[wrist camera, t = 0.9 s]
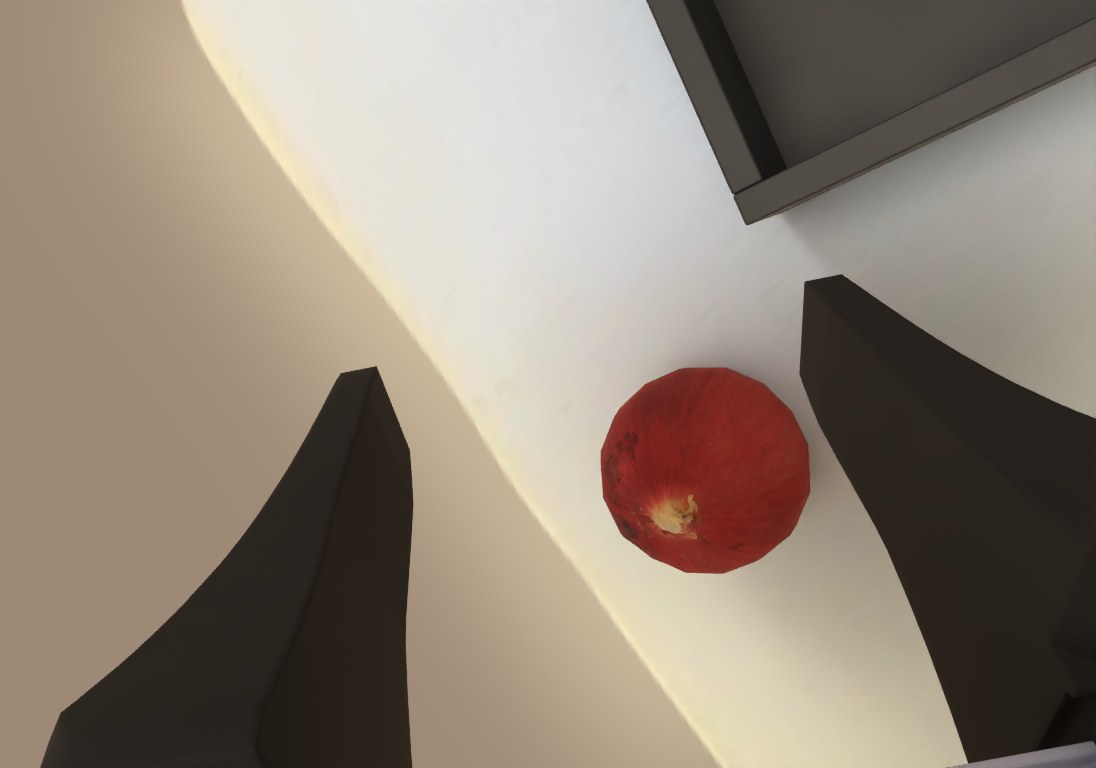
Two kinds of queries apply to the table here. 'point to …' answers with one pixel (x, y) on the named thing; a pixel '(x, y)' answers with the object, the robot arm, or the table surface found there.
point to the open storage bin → (857, 80)
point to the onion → (705, 470)
